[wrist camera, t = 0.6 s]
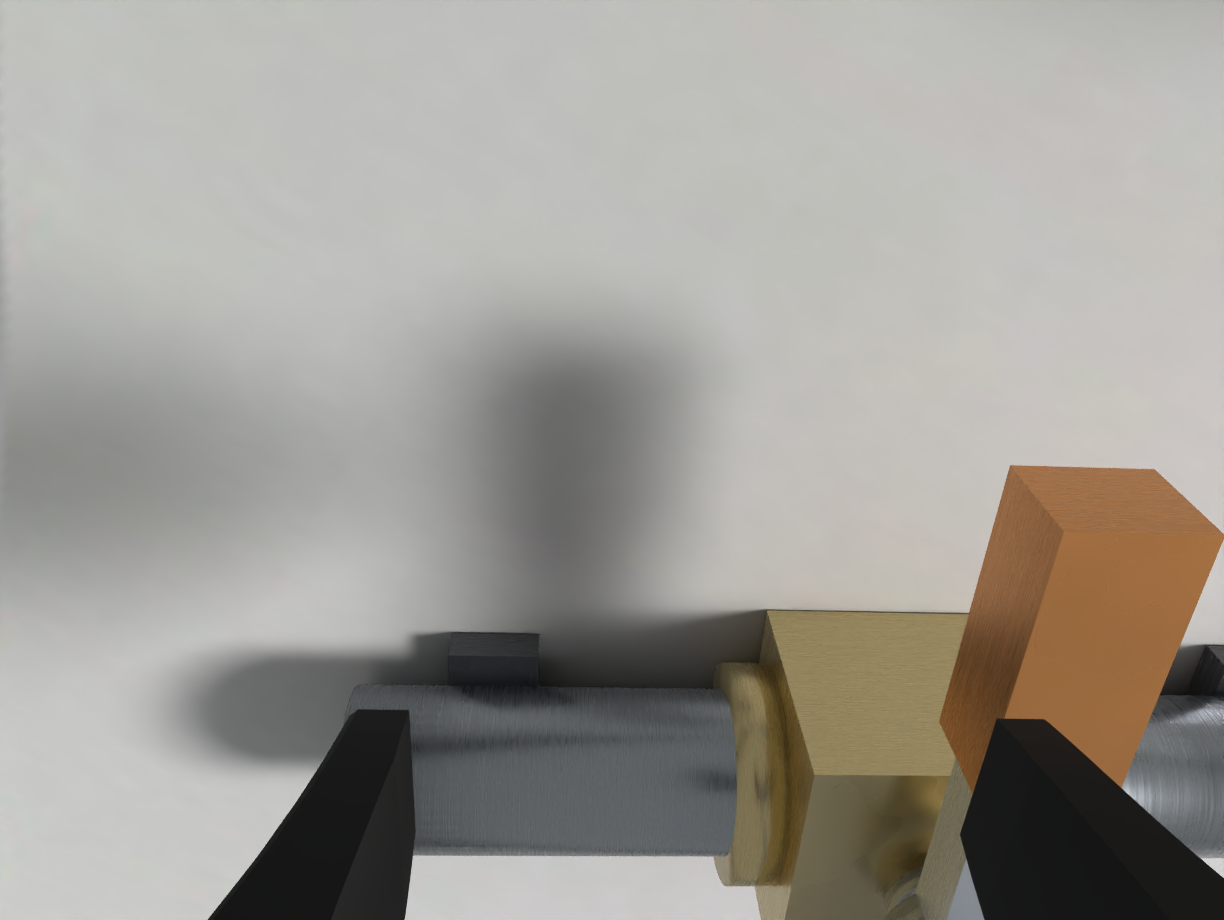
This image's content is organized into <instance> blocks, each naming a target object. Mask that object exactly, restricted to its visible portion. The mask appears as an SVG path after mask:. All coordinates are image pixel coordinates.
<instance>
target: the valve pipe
mask: <svg viewBox="0 0 1224 920" xmlns="http://www.w3.org/2000/svg"><path fill="white" fill-rule="evenodd" d="M968 616H969V614H932V613H878V612H824V611H769V610H767V613H766V619H765V626H764V632H763V638H762V645H761V651H760V657H759V663H725V662H722V663H719V664H718V665H717V666H716V669H715V676H714V684H713V689H672V688H599V687H538V676H539V634H491V633H452V636H451V642H450V649H449V655H448V659H449V685H378V684H358V685H357V686H356V687H355V689H354V691H353V693H352V695H351V698H350V701H349V704H348V708H347V712H346V716H345V721H344V724H345V722H346V721H347V719H348V717H349V716H350V715H351V714H352V713H354V712H355V711H356V710H357V709H378V710H409V715H410V733H411V752H412V771H413V789H414V808H415V827H416V833H415V841H414V849H413V855H425V856H713V857H714V862H715V866H716V869H717V873H718V875H719V878H720V880H721V882H722V883H723V885H724V886H755V891H756V896H757V901H758V906H759V911H760V916H761V920H883V919H884V918H885V916H886V912H885V909H884V897H885V894H886V892H887V890H888V889H889V887H890V886H891V885H892V883H893V882H894V881H895V880H896V879H898V878H899V877H900V876H902V875H903V874H905V873H906V872H908V871H910V870H912V869H915V868H917V867H920V866H924V862H925V859H926V856H927V852H928V849H929V845H930V842H931V839H932V835H933V832H934V828H935V825H936V822H937V818H938V815H939V811H940V808H941V805H942V801H943V798H944V795H945V791H946V788H947V784H948V781H949V778H950V774H951V771H952V767H953V764H954V761H955V755H954V753H953V751H952V748H951V746H950V744H949V742H948V740H947V738H946V735H945V733H944V731H943V729H942V727H941V725H940V723H939V720H940V716H941V713H942V709H943V705H944V702H945V698H946V695H947V691H948V687H949V684H950V680H951V677H952V673H953V669H954V666H955V662H956V659H957V655H958V651H959V648H960V644H961V641H962V637H963V633H964V630H965V626H966V623H967V619H968ZM1121 788H1122V789H1123V790H1124V791H1125V792H1126V793H1127V794H1129V795H1130V796H1131V797H1132V798H1133V799H1134V800H1135V801H1136V802H1137V803H1138V804H1139V805H1141V806H1142V807H1143V808H1144V809H1145V810H1146V811H1147V812H1148V813H1149V814H1151V815H1152V816H1153V817H1154V818H1155V819H1156V820H1157V821H1158V822H1159V823H1161V824H1162V825H1163V826H1164V827H1165V828H1166V829H1167V830H1168V831H1170V832H1171V833H1172V834H1173V835H1174V836H1175V837H1176V838H1177V839H1179V840H1180V841H1181V842H1182V843H1183V844H1184V845H1185V846H1187V847H1188V848H1189V849H1190V850H1191V851H1192V852H1193V853H1195V854H1196V855H1197V856H1198V857H1199V858H1224V646H1207V647H1206V649H1205V651H1204V654H1203V656H1202V658H1201V661H1200V663H1199V665H1198V668H1197V670H1196V672H1195V675H1194V677H1193V679H1192V682H1191V684H1190V686H1189V689H1188V691H1187V693H1186V695H1159V697H1158V700H1157V702H1156V705H1155V707H1154V710H1153V712H1152V714H1151V717H1150V719H1149V722H1148V724H1147V727H1146V729H1145V731H1144V734H1143V736H1142V739H1141V741H1140V744H1139V746H1138V749H1137V751H1136V753H1135V756H1134V758H1133V761H1132V763H1131V766H1130V768H1129V770H1128V773H1127V775H1126V778H1125V780H1124V783H1123V785H1122V787H1121Z"/></svg>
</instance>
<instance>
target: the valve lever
mask: <svg viewBox="0 0 1224 920" xmlns="http://www.w3.org/2000/svg"><path fill="white" fill-rule="evenodd" d="M1223 539H1224V534H1223V533H1222V532H1221V531H1220V530H1219V529H1218V528H1217V527H1216V526H1214V525H1213V524H1212V523H1211V522H1210V521H1209V520H1208V519H1207V518H1206V517H1205V516H1204V515H1203V514H1202V513H1201V512H1200V511H1198V510H1197V509H1196V508H1195V507H1194V506H1193V505H1192V504H1191V503H1190V502H1189V501H1188V500H1187V499H1186V498H1185V497H1183V496H1182V495H1181V494H1180V493H1179V492H1178V491H1177V490H1176V489H1175V488H1174V487H1173V486H1172V485H1171V484H1170V483H1169V482H1167V481H1166V480H1165V479H1164V478H1163V477H1162V476H1161V475H1160V474H1159V473H1158V472H1157V471H1156V470H1155V469H1121V468H1085V467H1049V466H1014V465H1010V468H1009V472H1008V475H1007V479H1006V482H1005V486H1004V490H1003V493H1002V497H1001V500H1000V504H999V508H998V511H997V515H996V518H995V522H994V526H993V529H992V533H991V536H990V540H989V544H988V547H987V551H986V554H985V558H984V562H983V565H982V569H981V572H980V576H979V580H978V583H977V587H976V590H975V594H974V598H973V601H972V605H971V608H970V612H969V616H968V619H967V623H966V626H965V630H964V633H963V637H962V641H961V644H960V648H959V651H958V655H957V659H956V662H955V666H954V669H953V673H952V677H951V680H950V684H949V687H948V691H947V695H946V698H945V702H944V705H943V709H942V713H941V716H940V720H939V723H940V725H941V727H942V729H943V731H944V733H945V735H946V738H947V740H948V742H949V744H950V746H951V748H952V751H953V753H954V755H955V761H954V764H953V767H952V771H951V774H950V778H949V781H948V784H947V788H946V791H945V795H944V798H943V801H942V805H941V808H940V811H939V815H938V818H937V822H936V825H935V828H934V832H933V835H932V839H931V842H930V845H929V849H928V852H927V856H926V859H925V862H924V866H920V867H917V868H915V869H912V870H910V871H908V872H906V873H905V874H903V875H902V876H900V877H899V878H898V879H896V880H895V881H894V882H893V883H892V885H891V886H890V887H889V889H888V890H887V892H886V894H885V897H884V909H885V912H886V916H885V918H884V919H883V920H985V919H984V917H983V914H982V911H981V907H980V904H979V901H978V897H977V894H976V891H975V888H974V884H973V881H972V878H971V874H970V870H969V867H968V863H967V859H966V856H965V852H964V848H963V845H962V841H961V837H960V832H961V829H962V826H963V823H964V820H965V817H966V813H967V810H968V807H969V804H970V801H971V798H972V795H973V791H974V788H975V785H976V782H977V779H978V776H979V773H980V769H981V766H982V763H983V760H984V757H985V754H986V751H987V747H988V744H989V741H990V738H991V735H992V732H993V729H994V725H995V722H996V719H997V718H1000V719H1045V720H1046V721H1047V722H1049V723H1050V724H1051V725H1052V726H1053V727H1054V728H1056V729H1057V730H1058V731H1059V732H1060V733H1061V734H1063V735H1064V736H1065V737H1066V738H1067V739H1068V740H1069V741H1070V742H1072V743H1073V744H1074V745H1075V746H1076V747H1077V748H1078V749H1079V750H1080V751H1081V752H1083V753H1084V754H1085V755H1086V756H1087V757H1088V758H1089V759H1090V760H1091V761H1092V762H1094V763H1095V764H1096V765H1097V766H1098V767H1099V768H1100V769H1101V770H1102V771H1103V772H1104V773H1106V774H1107V775H1108V776H1109V777H1110V778H1111V779H1112V780H1113V781H1114V782H1115V783H1116V784H1118V785H1119V786H1120V787H1122V785H1123V783H1124V780H1125V778H1126V775H1127V773H1128V770H1129V768H1130V766H1131V763H1132V761H1133V758H1134V756H1135V753H1136V751H1137V749H1138V746H1139V744H1140V741H1141V739H1142V736H1143V734H1144V731H1145V729H1146V727H1147V724H1148V722H1149V719H1150V717H1151V714H1152V712H1153V710H1154V707H1155V705H1156V702H1157V700H1158V697H1159V695H1160V693H1161V690H1162V688H1163V685H1164V683H1165V680H1166V678H1167V676H1168V673H1169V671H1170V668H1171V666H1172V663H1173V661H1174V659H1175V656H1176V654H1177V651H1178V649H1179V646H1180V644H1181V641H1182V639H1183V637H1184V634H1185V632H1186V629H1187V627H1188V624H1189V622H1190V620H1191V617H1192V615H1193V612H1194V610H1195V607H1196V605H1197V603H1198V600H1199V598H1200V595H1201V593H1202V590H1203V588H1204V586H1205V583H1206V581H1207V578H1208V576H1209V573H1210V571H1211V569H1212V566H1213V564H1214V561H1215V559H1216V556H1217V554H1218V552H1219V549H1220V547H1221V544H1222V542H1223Z"/></svg>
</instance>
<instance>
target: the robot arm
mask: <svg viewBox="0 0 1224 920" xmlns="http://www.w3.org/2000/svg"><path fill="white" fill-rule="evenodd" d="M415 833H416V827H415V808H414V789H413V771H412V752H411V733H410V715H409V710H378V709H357V710H356V711H355V712H354V713H352V714H351V715H350V716H349V717H348V719H347V721H346V722H345V724H344V726H343V728H342V730H341V731H340V733H339V735H338V737H337V738H336V740H335V742H334V743H333V745H332V747H331V749H330V750H329V752H328V754H327V755H326V757H325V758H324V760H323V762H322V763H321V765H320V766H319V768H318V770H317V771H316V773H315V774H314V776H313V777H312V779H311V780H310V782H309V783H308V785H307V787H306V788H305V790H304V791H303V793H302V794H301V796H300V797H299V799H298V800H297V802H296V803H295V805H294V806H293V807H292V809H291V810H290V812H289V813H288V814H287V816H286V817H285V819H284V820H283V821H282V823H281V824H280V826H279V827H278V828H277V830H276V831H275V833H274V834H273V836H272V837H271V838H270V840H269V841H268V843H267V844H266V845H265V847H264V848H263V850H262V851H261V852H260V854H259V855H258V856H257V858H256V859H255V860H254V862H253V863H252V864H251V866H250V867H249V868H248V869H247V871H246V872H245V873H244V875H243V876H242V877H241V878H240V880H239V881H238V882H237V883H236V885H235V886H234V887H233V888H232V890H231V891H230V892H229V893H228V895H227V896H226V897H225V899H224V900H223V901H222V902H221V904H220V905H219V906H218V907H217V909H216V910H215V911H214V912H213V914H212V915H211V916H210V917H209V919H208V920H404V919H405V914H406V906H407V898H408V890H409V883H410V875H411V866H412V858H413V849H414V841H415ZM960 837H961V841H962V845H963V848H964V852H965V856H966V859H967V863H968V867H969V870H970V874H971V878H972V881H973V884H974V888H975V891H976V894H977V897H978V901H979V904H980V907H981V911H982V914H983V917H984V919H985V920H1224V878H1223V877H1222V876H1220V875H1219V874H1218V873H1217V872H1216V871H1214V870H1213V869H1212V868H1211V867H1210V866H1209V865H1207V864H1206V863H1205V862H1204V861H1203V860H1202V859H1200V858H1199V857H1198V856H1197V855H1196V854H1195V853H1193V852H1192V851H1191V850H1190V849H1189V848H1188V847H1187V846H1185V845H1184V844H1183V843H1182V842H1181V841H1180V840H1179V839H1177V838H1176V837H1175V836H1174V835H1173V834H1172V833H1171V832H1170V831H1168V830H1167V829H1166V828H1165V827H1164V826H1163V825H1162V824H1161V823H1159V822H1158V821H1157V820H1156V819H1155V818H1154V817H1153V816H1152V815H1151V814H1149V813H1148V812H1147V811H1146V810H1145V809H1144V808H1143V807H1142V806H1141V805H1139V804H1138V803H1137V802H1136V801H1135V800H1134V799H1133V798H1132V797H1131V796H1130V795H1129V794H1127V793H1126V792H1125V791H1124V790H1123V789H1122V788H1121V787H1120V786H1119V785H1118V784H1116V783H1115V782H1114V781H1113V780H1112V779H1111V778H1110V777H1109V776H1108V775H1107V774H1106V773H1104V772H1103V771H1102V770H1101V769H1100V768H1099V767H1098V766H1097V765H1096V764H1095V763H1094V762H1092V761H1091V760H1090V759H1089V758H1088V757H1087V756H1086V755H1085V754H1084V753H1083V752H1081V751H1080V750H1079V749H1078V748H1077V747H1076V746H1075V745H1074V744H1073V743H1072V742H1070V741H1069V740H1068V739H1067V738H1066V737H1065V736H1064V735H1063V734H1061V733H1060V732H1059V731H1058V730H1057V729H1056V728H1054V727H1053V726H1052V725H1051V724H1050V723H1049V722H1047V721H1046V720H1045V719H1000V718H997V719H996V722H995V725H994V729H993V732H992V735H991V738H990V741H989V744H988V747H987V751H986V754H985V757H984V760H983V763H982V766H981V769H980V773H979V776H978V779H977V782H976V785H975V788H974V791H973V795H972V798H971V801H970V804H969V807H968V810H967V813H966V817H965V820H964V823H963V826H962V829H961V832H960Z"/></svg>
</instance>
